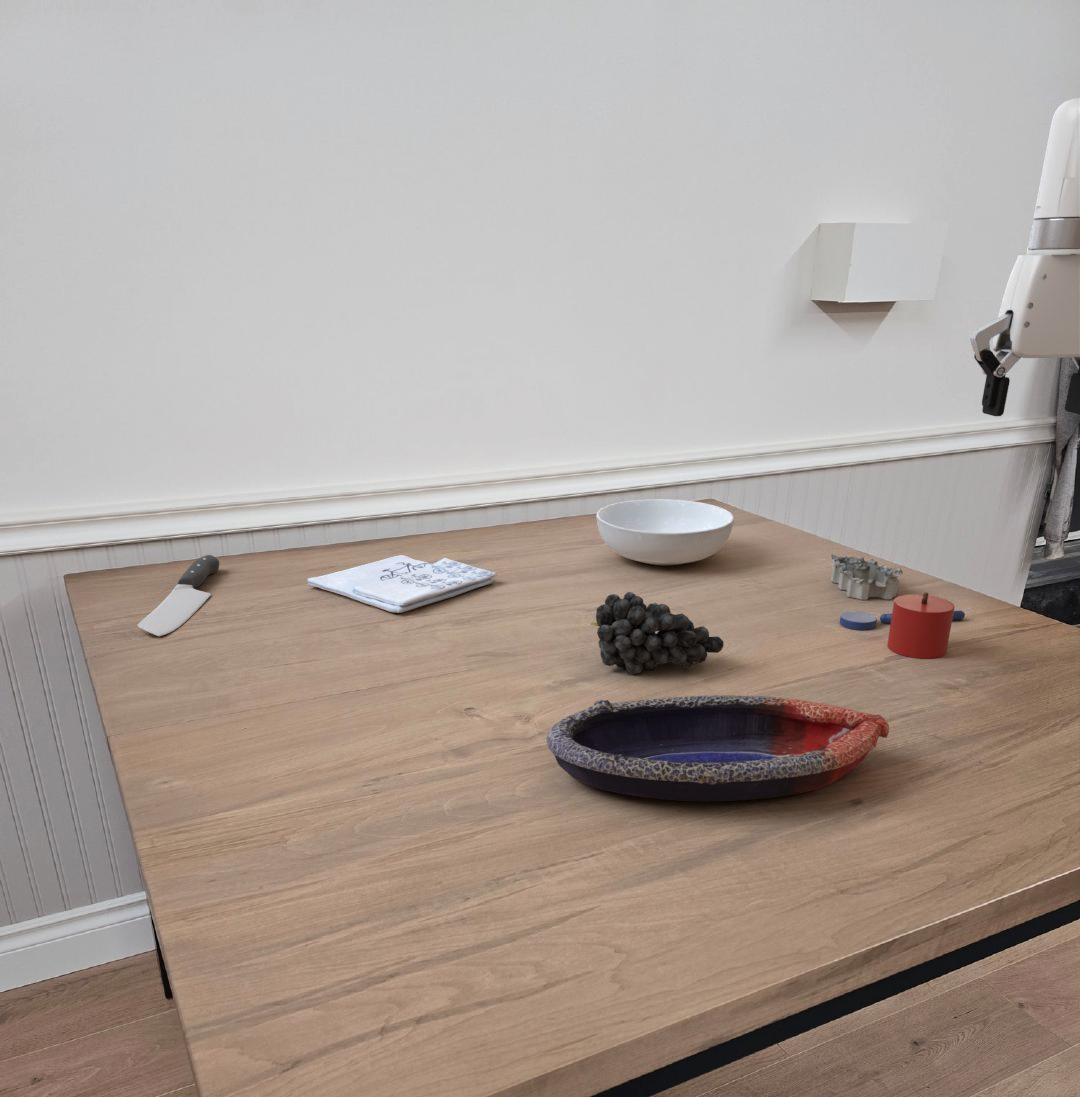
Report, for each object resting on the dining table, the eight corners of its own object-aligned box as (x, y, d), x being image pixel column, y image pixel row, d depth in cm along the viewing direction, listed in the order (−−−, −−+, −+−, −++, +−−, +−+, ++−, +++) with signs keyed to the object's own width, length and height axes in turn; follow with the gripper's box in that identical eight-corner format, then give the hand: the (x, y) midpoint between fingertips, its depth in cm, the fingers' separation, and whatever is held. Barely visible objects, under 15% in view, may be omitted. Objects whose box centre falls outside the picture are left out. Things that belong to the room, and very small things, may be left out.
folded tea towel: (400, 617, 125) (398, 601, 125) (304, 587, 137) (303, 572, 137) (499, 583, 139) (499, 569, 138) (404, 558, 150) (403, 545, 150)
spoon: (954, 613, 125) (956, 605, 125) (972, 625, 122) (974, 616, 121) (834, 619, 124) (835, 610, 123) (847, 630, 120) (849, 621, 119)
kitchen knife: (174, 630, 119) (132, 620, 118) (172, 649, 120) (130, 639, 119) (235, 559, 145) (201, 550, 144) (233, 575, 146) (199, 566, 145)
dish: (542, 737, 93) (542, 689, 91) (856, 730, 94) (863, 683, 92) (550, 820, 79) (550, 767, 77) (918, 811, 80) (929, 758, 78)
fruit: (727, 583, 108) (592, 579, 108) (734, 630, 102) (591, 625, 102) (717, 643, 114) (589, 639, 114) (723, 691, 108) (588, 686, 108)
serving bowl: (576, 569, 145) (576, 523, 142) (619, 535, 162) (621, 494, 159) (713, 583, 138) (716, 536, 135) (743, 547, 155) (746, 504, 152)
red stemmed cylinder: (929, 637, 118) (939, 582, 115) (956, 657, 112) (967, 600, 109) (877, 639, 117) (886, 585, 114) (902, 659, 111) (911, 602, 108)
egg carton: (901, 601, 131) (906, 571, 129) (846, 601, 131) (850, 571, 129) (877, 577, 140) (881, 549, 138) (825, 577, 140) (829, 549, 138)
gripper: (1124, 240, 103) (1086, 407, 110) (970, 240, 101) (942, 410, 108) (1173, 238, 96) (1130, 416, 103) (1009, 239, 94) (976, 420, 102)
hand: (1033, 413), depth 106 cm, fingers open, 9 cm apart
